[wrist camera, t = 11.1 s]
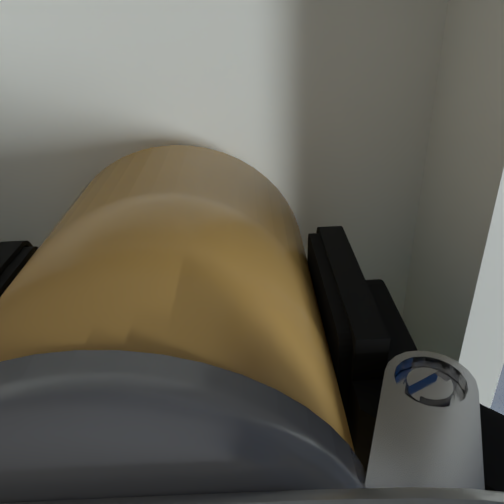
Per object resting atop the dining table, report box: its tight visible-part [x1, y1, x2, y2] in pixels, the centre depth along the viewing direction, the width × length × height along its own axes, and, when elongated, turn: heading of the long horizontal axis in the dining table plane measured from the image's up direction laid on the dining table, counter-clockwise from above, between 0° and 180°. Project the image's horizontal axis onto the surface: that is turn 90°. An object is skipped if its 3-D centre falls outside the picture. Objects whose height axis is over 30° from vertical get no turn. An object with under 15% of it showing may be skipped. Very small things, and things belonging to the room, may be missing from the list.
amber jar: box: [0, 145, 367, 503], centre depth 9 cm, size 6×6×8 cm
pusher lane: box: [0, 0, 504, 408], centre depth 9 cm, size 15×14×8 cm
